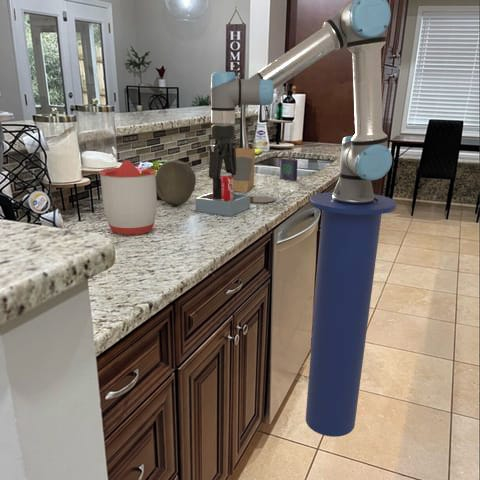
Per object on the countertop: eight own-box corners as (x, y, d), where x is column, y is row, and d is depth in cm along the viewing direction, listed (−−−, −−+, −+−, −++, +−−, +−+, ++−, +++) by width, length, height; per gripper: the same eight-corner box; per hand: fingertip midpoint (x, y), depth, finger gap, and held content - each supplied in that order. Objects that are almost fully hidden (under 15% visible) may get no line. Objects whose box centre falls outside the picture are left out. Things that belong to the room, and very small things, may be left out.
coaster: (279, 199, 188) (279, 198, 188) (266, 204, 179) (266, 203, 179) (253, 195, 192) (253, 194, 192) (239, 201, 184) (239, 200, 183)
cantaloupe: (196, 209, 171) (195, 164, 165) (154, 209, 170) (151, 164, 164) (196, 200, 184) (195, 158, 178) (157, 200, 183) (155, 158, 177)
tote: (249, 208, 174) (250, 195, 172) (230, 216, 163) (230, 202, 161) (216, 203, 180) (216, 190, 178) (195, 211, 169) (195, 197, 167)
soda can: (231, 207, 175) (231, 171, 170) (235, 211, 169) (235, 175, 164) (211, 207, 174) (211, 172, 169) (214, 212, 167) (213, 175, 163)
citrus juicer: (169, 224, 153) (166, 156, 145) (146, 239, 137) (142, 165, 129) (121, 220, 156) (116, 154, 148) (94, 235, 140) (86, 162, 133)
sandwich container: (226, 191, 200) (226, 152, 194) (234, 184, 214) (234, 147, 208) (247, 192, 199) (247, 153, 193) (254, 185, 212) (255, 148, 206)
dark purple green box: (278, 178, 229) (279, 154, 224) (282, 177, 231) (283, 153, 226) (294, 181, 223) (296, 156, 219) (298, 180, 225) (300, 155, 221)
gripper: (228, 122, 170) (228, 190, 179) (196, 126, 154) (197, 200, 163) (247, 123, 167) (246, 192, 176) (217, 127, 150) (217, 203, 160)
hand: (223, 196), depth 169 cm, fingers closed on soda can, 7 cm apart
